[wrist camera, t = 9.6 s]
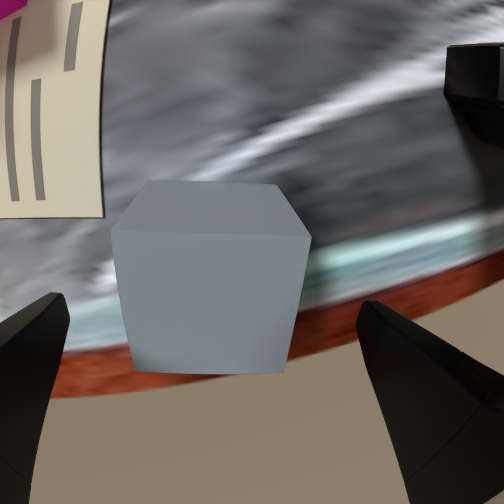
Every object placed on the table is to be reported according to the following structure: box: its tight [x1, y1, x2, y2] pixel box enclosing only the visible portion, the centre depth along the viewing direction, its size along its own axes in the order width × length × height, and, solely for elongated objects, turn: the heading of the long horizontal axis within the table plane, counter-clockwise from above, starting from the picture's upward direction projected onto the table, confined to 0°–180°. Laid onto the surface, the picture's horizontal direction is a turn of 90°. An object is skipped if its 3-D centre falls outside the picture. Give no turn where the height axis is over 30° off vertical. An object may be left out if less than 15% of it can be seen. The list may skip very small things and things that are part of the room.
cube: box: [111, 180, 312, 374], centre depth 11 cm, size 5×5×5 cm
